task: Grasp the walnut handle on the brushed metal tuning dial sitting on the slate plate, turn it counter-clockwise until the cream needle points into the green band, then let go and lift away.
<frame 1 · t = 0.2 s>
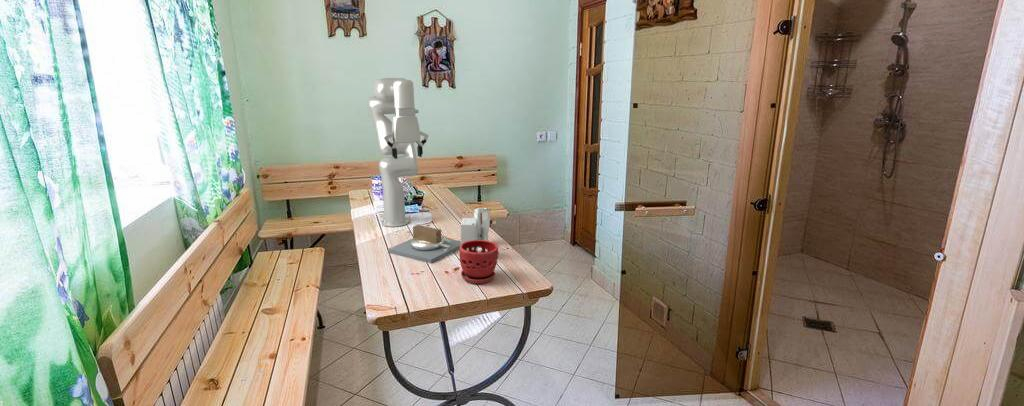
hand: (407, 157, 184), 36 cm above the table, tool pointing down, fingers open, 9 cm apart
skincare box: (469, 258, 180), on the table
tuning dial: (431, 237, 187), point 5 cm above the table, hinge at 0.0°
dial plate: (427, 249, 189), on the table
beer glass: (481, 245, 194), on the table
plant pot: (479, 278, 162), on the table
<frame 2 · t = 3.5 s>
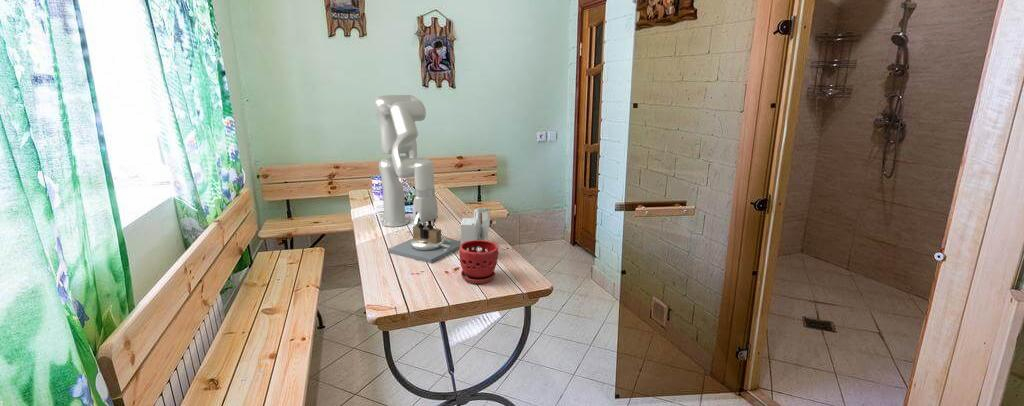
hand: (427, 236, 188), 5 cm above the table, tool pointing down, fingers closed on tuning dial, 3 cm apart
tuning dial: (431, 237, 187), point 5 cm above the table, hinge at 0.0°, touching gripper
everything else where it was.
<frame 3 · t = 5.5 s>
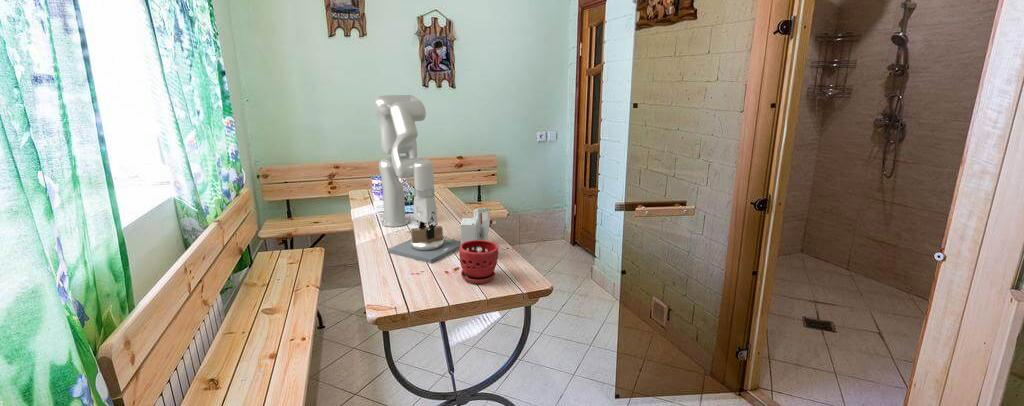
hand: (426, 236, 188), 5 cm above the table, tool pointing down, fingers closed on tuning dial, 4 cm apart
tuning dial: (432, 236, 188), point 5 cm above the table, hinge at 49.6°, touching gripper
everything else where it was.
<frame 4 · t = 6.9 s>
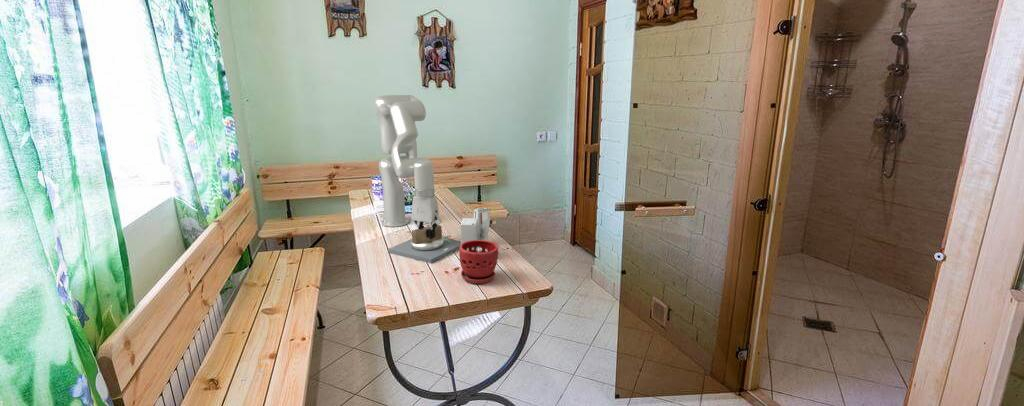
hand: (427, 236, 188), 5 cm above the table, tool pointing down, fingers closed on tuning dial, 4 cm apart
tuning dial: (431, 235, 189), point 5 cm above the table, hinge at 73.6°, touching gripper
everything else where it was.
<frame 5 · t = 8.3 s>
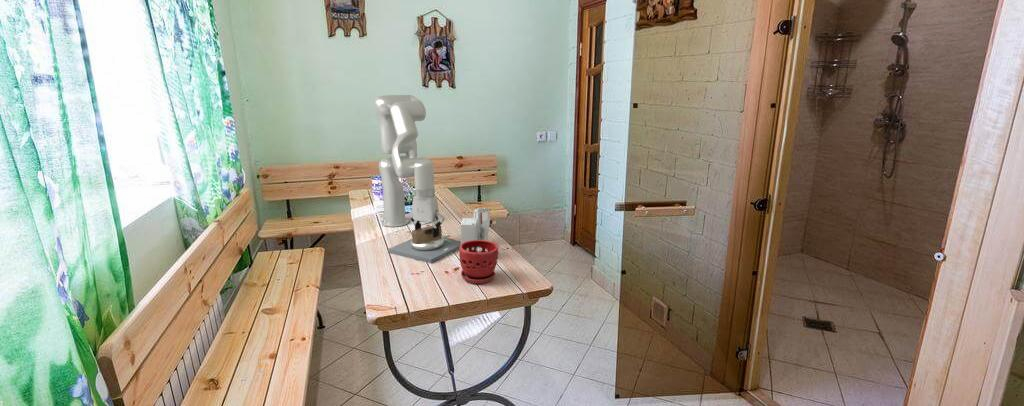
hand: (427, 235, 188), 6 cm above the table, tool pointing down, fingers open, 8 cm apart
tuning dial: (431, 235, 189), point 5 cm above the table, hinge at 75.6°
everything else where it was.
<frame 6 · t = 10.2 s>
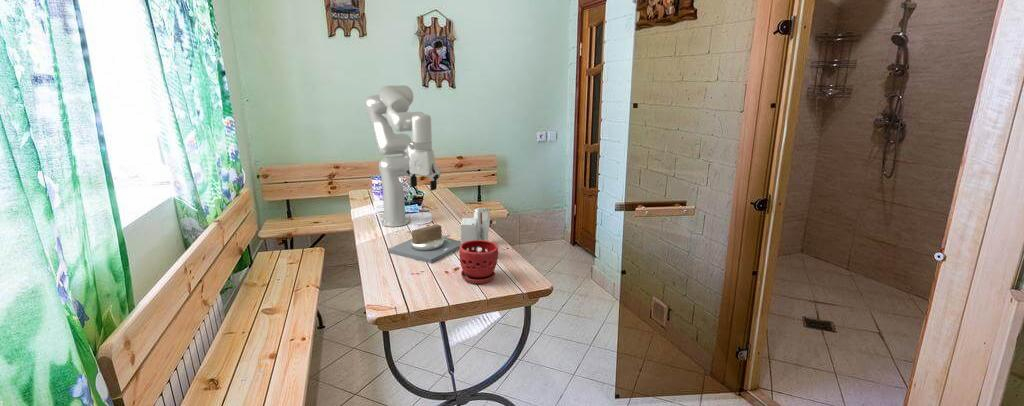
hand: (423, 188, 190), 24 cm above the table, tool pointing down, fingers open, 9 cm apart
nothing on the table moved.
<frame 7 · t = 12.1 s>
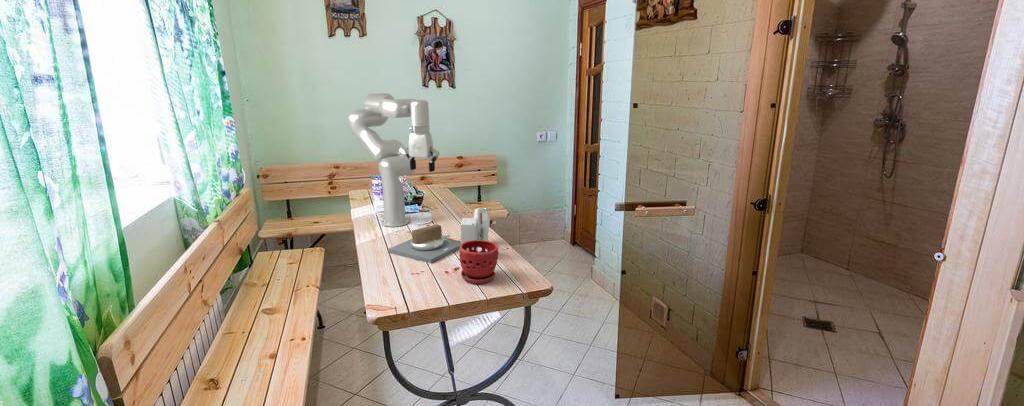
hand: (422, 170, 201), 28 cm above the table, tool pointing down, fingers open, 9 cm apart
nothing on the table moved.
at the end: tuning dial at +76° (first picture: +0°); the gripper is holding nothing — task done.
